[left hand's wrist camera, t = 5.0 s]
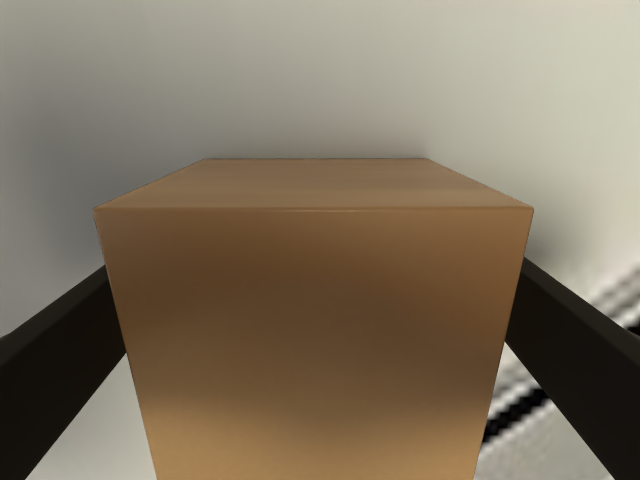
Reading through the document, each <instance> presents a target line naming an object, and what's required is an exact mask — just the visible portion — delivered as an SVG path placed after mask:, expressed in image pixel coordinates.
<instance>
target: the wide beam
mask: <svg viewBox="0 0 640 480" xmlns="http://www.w3.org/2000/svg"><path fill="white" fill-rule="evenodd" d="M533 213H534V208H533V207H531V206H529V205H527V204H525V203H522V202H520V201H518V200H516V199H514V198H512V197H509V196H507V195H505V194H503V193H501V192H498V191H496V190H494V189H492V188H490V187H488V186H485V185H483V184H481V183H479V182H477V181H474V180H472V179H470V178H468V177H466V176H464V175H461V174H459V173H457V172H455V171H453V170H450V169H448V168H446V167H444V166H442V165H440V164H437V163H435V162H433V161H431V160H429V159H203V160H201V161H199V162H196V163H194V164H192V165H190V166H187V167H185V168H183V169H181V170H178V171H176V172H174V173H172V174H169V175H167V176H165V177H163V178H160V179H158V180H156V181H154V182H151V183H149V184H147V185H145V186H142V187H140V188H138V189H136V190H133V191H131V192H129V193H127V194H124V195H122V196H120V197H118V198H115V199H113V200H111V201H109V202H106V203H104V204H102V205H100V206H97V207H95V208H93V215H94V220H95V224H96V228H97V232H98V236H99V240H100V244H101V249H102V253H103V257H104V261H105V265H106V269H107V274H108V278H109V282H110V286H111V290H112V294H113V298H114V303H115V307H116V311H117V315H118V319H119V323H120V327H121V332H122V336H123V340H124V344H125V348H126V352H127V357H128V361H129V365H130V369H131V373H132V377H133V381H134V386H135V390H136V394H137V398H138V402H139V406H140V410H141V415H142V419H143V423H144V427H145V431H146V435H147V440H148V444H149V448H150V452H151V456H152V460H153V464H154V469H155V473H156V477H157V480H473V478H474V474H475V469H476V465H477V460H478V456H479V451H480V447H481V443H482V438H483V434H484V429H485V425H486V420H487V416H488V412H489V407H490V403H491V398H492V394H493V390H494V385H495V381H496V376H497V372H498V367H499V363H500V359H501V354H502V350H503V345H504V341H505V337H506V332H507V328H508V323H509V319H510V314H511V310H512V306H513V301H514V297H515V292H516V288H517V283H518V279H519V275H520V270H521V266H522V261H523V257H524V253H525V248H526V244H527V239H528V235H529V230H530V226H531V222H532V217H533Z"/></svg>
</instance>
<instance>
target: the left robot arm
mask: <svg viewBox="0 0 640 480" xmlns="http://www.w3.org/2000/svg"><path fill="white" fill-rule="evenodd" d="M505 342H506V344H507V345H508V346H509V347H510V349H511V350H512V351H513V352H514V354H515V355H516V356H517V357H518V359H519V360H520V361H521V362H522V364H523V365H524V366H525V367H526V369H527V370H528V371H529V372H530V374H531V375H532V376H533V377H534V379H535V380H536V381H537V382H538V384H539V385H540V386H541V387H542V389H543V390H544V391H545V392H546V394H547V395H548V396H549V397H550V399H551V400H552V401H553V403H554V404H555V405H556V406H557V408H558V409H559V410H560V411H561V413H562V414H563V415H564V416H565V418H566V419H567V420H568V421H569V423H570V424H571V425H572V426H573V428H574V429H575V430H576V431H577V433H578V434H579V435H580V436H581V438H582V439H583V440H584V441H585V443H586V444H587V445H588V446H589V448H590V449H591V450H592V451H593V453H594V454H595V455H596V456H597V458H598V459H599V460H600V462H601V463H602V464H603V465H604V467H605V468H606V469H607V470H608V472H609V473H610V474H611V475H612V477H613V478H614V479H615V480H640V336H638V335H636V334H634V333H632V332H630V331H628V330H625V329H623V328H622V327H621V326H619V325H618V324H616V323H615V322H614V321H612V320H611V319H610V318H608V317H607V316H605V315H604V314H603V313H601V312H600V311H598V310H597V309H596V308H594V307H593V306H592V305H590V304H589V303H587V302H586V301H585V300H583V299H582V298H580V297H579V296H578V295H576V294H575V293H574V292H572V291H571V290H569V289H568V288H567V287H565V286H564V285H562V284H561V283H560V282H558V281H557V280H556V279H554V278H553V277H551V276H550V275H549V274H547V273H546V272H544V271H543V270H542V269H540V268H539V267H538V266H536V265H535V264H533V263H532V262H531V261H529V260H528V259H526V258H525V257H523V261H522V266H521V270H520V275H519V279H518V283H517V288H516V292H515V297H514V301H513V306H512V310H511V314H510V319H509V323H508V328H507V332H506V337H505ZM125 354H126V348H125V344H124V340H123V336H122V332H121V327H120V323H119V319H118V315H117V311H116V307H115V303H114V298H113V294H112V290H111V286H110V282H109V278H108V274H107V269H106V265H104V266H102V267H101V268H100V269H98V270H97V271H96V272H94V273H93V274H91V275H90V276H89V277H87V278H86V279H84V280H83V281H82V282H80V283H79V284H78V285H76V286H75V287H73V288H72V289H71V290H69V291H68V292H66V293H65V294H64V295H62V296H61V297H60V298H58V299H57V300H55V301H54V302H53V303H51V304H50V305H48V306H47V307H46V308H44V309H43V310H42V311H40V312H39V313H37V314H36V315H35V316H33V317H32V318H30V319H29V320H28V321H26V322H25V323H24V324H22V325H21V326H19V327H18V328H17V329H15V330H14V331H12V332H11V333H9V334H7V335H5V336H3V337H1V338H0V480H25V479H26V478H27V477H28V475H29V474H30V473H31V472H32V470H33V469H34V468H35V467H36V465H37V464H38V463H39V462H40V460H41V459H42V458H43V456H44V455H45V454H46V453H47V451H48V450H49V449H50V448H51V446H52V445H53V444H54V443H55V441H56V440H57V439H58V438H59V436H60V435H61V434H62V433H63V431H64V430H65V429H66V428H67V426H68V425H69V424H70V423H71V421H72V420H73V419H74V418H75V416H76V415H77V414H78V413H79V411H80V410H81V409H82V408H83V406H84V405H85V404H86V403H87V401H88V400H89V399H90V397H91V396H92V395H93V394H94V392H95V391H96V390H97V389H98V387H99V386H100V385H101V384H102V382H103V381H104V380H105V379H106V377H107V376H108V375H109V374H110V372H111V371H112V370H113V369H114V367H115V366H116V365H117V364H118V362H119V361H120V360H121V359H122V357H123V356H124V355H125Z"/></svg>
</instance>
